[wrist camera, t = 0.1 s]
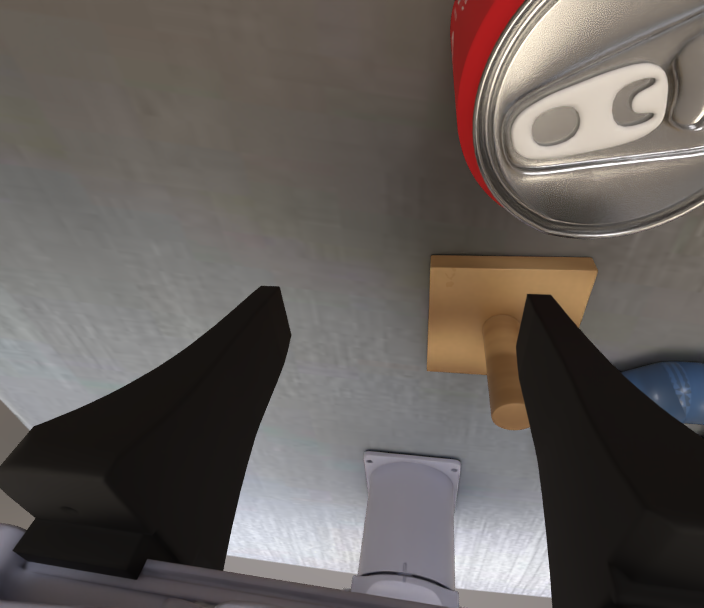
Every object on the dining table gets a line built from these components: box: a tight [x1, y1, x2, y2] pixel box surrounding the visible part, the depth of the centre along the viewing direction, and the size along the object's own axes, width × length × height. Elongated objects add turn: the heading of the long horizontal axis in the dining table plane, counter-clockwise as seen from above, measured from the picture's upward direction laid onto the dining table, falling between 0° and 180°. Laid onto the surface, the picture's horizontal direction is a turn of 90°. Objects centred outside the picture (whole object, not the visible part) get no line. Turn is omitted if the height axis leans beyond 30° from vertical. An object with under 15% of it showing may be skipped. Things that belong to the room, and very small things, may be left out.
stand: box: [427, 255, 598, 430], centre depth 22 cm, size 8×8×7 cm
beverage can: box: [450, 0, 704, 239], centre depth 11 cm, size 5×5×12 cm
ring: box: [621, 361, 704, 425], centre depth 27 cm, size 13×13×3 cm
